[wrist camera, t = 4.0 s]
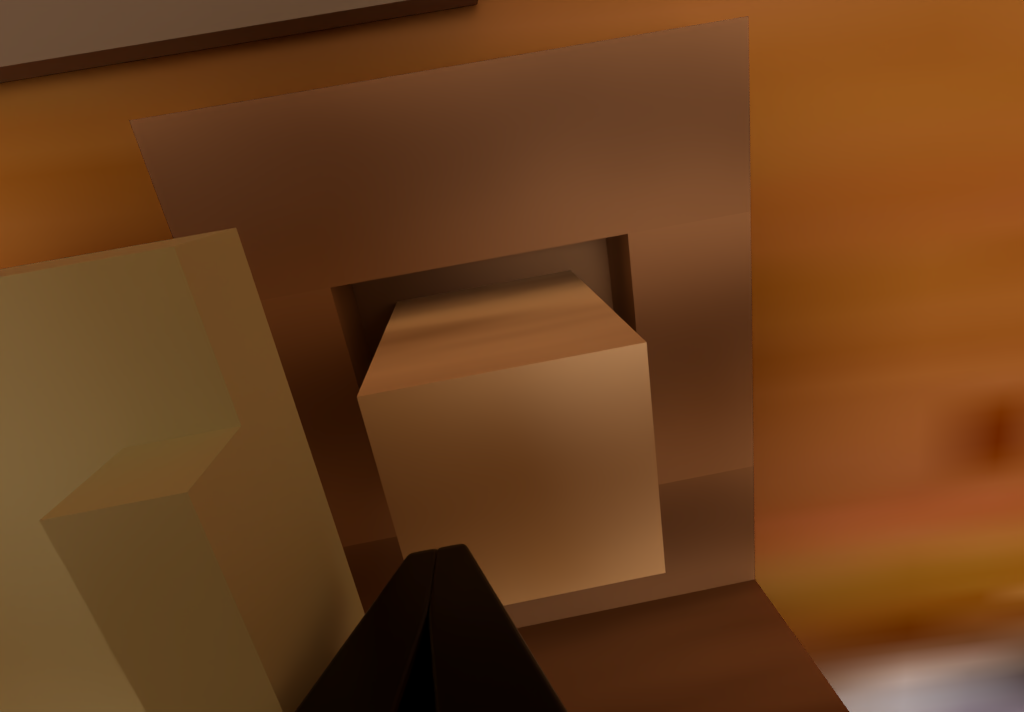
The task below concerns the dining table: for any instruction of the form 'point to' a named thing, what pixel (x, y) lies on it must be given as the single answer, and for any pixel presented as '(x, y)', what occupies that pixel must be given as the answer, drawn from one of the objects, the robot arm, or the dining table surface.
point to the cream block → (519, 435)
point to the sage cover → (157, 492)
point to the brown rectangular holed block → (517, 255)
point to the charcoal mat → (166, 27)
